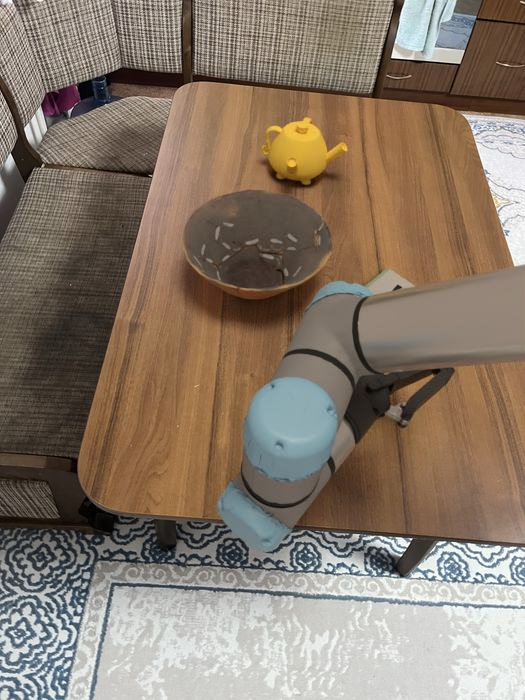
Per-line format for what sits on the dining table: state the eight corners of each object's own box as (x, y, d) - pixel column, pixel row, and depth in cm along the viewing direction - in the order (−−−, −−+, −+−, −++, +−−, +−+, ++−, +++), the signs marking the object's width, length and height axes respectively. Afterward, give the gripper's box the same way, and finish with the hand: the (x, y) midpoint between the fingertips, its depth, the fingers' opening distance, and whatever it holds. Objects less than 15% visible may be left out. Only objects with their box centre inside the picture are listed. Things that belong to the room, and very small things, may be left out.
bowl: (307, 227, 106) (315, 185, 98) (337, 323, 91) (348, 283, 83) (180, 234, 102) (176, 191, 94) (189, 335, 88) (187, 294, 80)
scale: (448, 317, 94) (454, 306, 92) (406, 358, 88) (411, 347, 86) (384, 274, 99) (388, 263, 97) (341, 310, 93) (344, 299, 91)
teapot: (285, 200, 110) (292, 152, 101) (253, 163, 117) (256, 115, 108) (342, 182, 115) (353, 135, 106) (308, 148, 122) (315, 101, 113)
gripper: (254, 389, 66) (354, 289, 77) (400, 495, 59) (485, 367, 70) (258, 354, 60) (365, 250, 71) (421, 467, 53) (511, 332, 64)
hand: (425, 309), depth 71 cm, fingers closed on cup, 8 cm apart
